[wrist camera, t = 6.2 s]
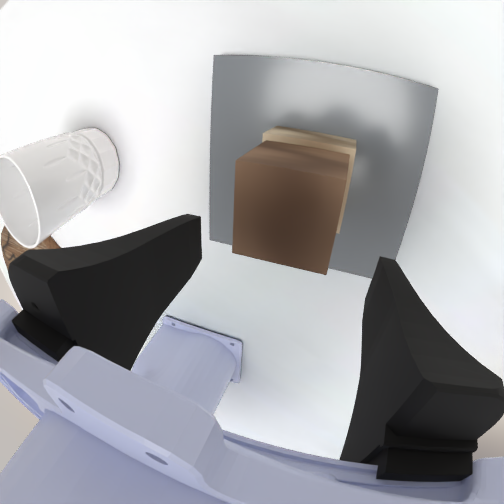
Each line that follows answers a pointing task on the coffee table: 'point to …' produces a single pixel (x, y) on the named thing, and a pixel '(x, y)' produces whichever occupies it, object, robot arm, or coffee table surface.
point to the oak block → (319, 142)
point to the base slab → (334, 123)
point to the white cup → (54, 182)
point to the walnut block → (288, 204)
